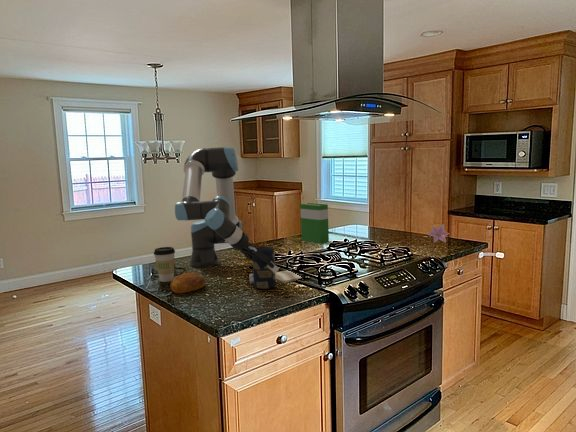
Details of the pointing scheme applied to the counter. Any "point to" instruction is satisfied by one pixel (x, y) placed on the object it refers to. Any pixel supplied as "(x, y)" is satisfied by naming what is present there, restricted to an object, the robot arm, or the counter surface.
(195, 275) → the bread loaf
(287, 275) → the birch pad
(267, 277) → the canister
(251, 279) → the metal slug
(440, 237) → the lily
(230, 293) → the counter surface
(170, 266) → the coffee cup
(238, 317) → the counter surface
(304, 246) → the counter surface
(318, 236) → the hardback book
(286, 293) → the counter surface
